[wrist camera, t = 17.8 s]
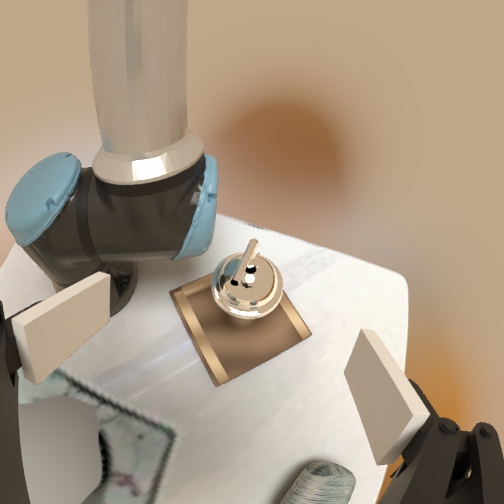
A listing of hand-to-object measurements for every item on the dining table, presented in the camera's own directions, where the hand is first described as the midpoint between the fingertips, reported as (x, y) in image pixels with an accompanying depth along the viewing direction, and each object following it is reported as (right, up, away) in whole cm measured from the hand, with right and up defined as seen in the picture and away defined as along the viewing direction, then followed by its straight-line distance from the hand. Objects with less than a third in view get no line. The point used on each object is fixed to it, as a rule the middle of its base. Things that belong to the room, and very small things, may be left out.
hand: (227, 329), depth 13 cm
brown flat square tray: (-1, -6, +29) cm, 30 cm away
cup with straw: (-1, -6, +28) cm, 29 cm away
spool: (+9, -31, +14) cm, 35 cm away
